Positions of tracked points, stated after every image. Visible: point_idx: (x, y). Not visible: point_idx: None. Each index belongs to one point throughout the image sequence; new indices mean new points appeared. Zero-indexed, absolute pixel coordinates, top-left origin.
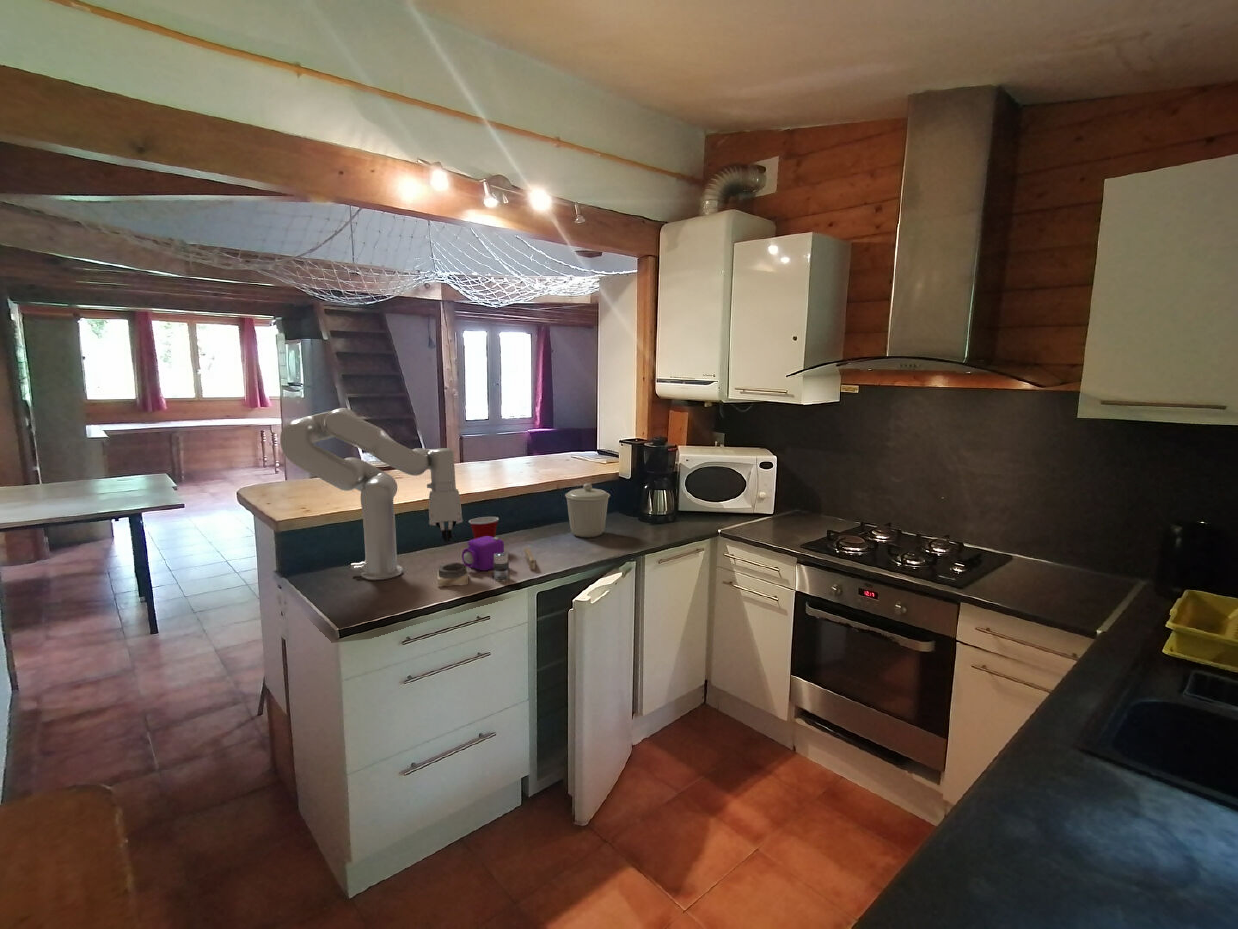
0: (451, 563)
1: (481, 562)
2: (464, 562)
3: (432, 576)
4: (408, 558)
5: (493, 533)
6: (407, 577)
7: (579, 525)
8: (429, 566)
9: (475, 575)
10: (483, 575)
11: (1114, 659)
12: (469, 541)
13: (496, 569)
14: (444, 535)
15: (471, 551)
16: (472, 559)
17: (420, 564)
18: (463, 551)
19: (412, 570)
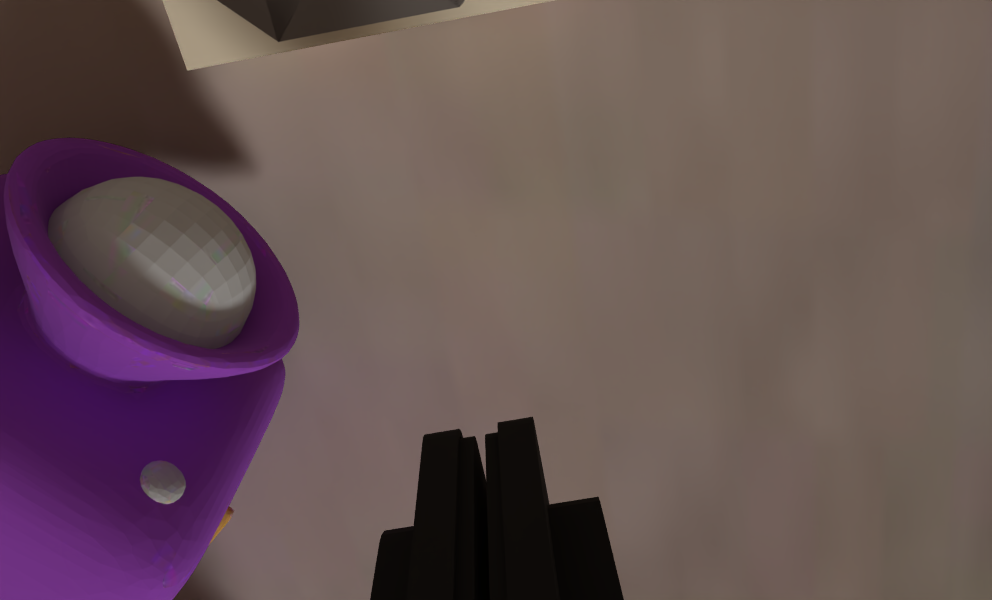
0: (375, 11)
1: (2, 206)
2: (273, 274)
3: (657, 44)
4: (922, 596)
5: None
6: (970, 28)
7: None
8: (716, 385)
9: (113, 43)
10: (8, 35)
11: None
12: (126, 568)
13: None
14: (545, 526)
15: (19, 244)
16: (84, 189)
17: (811, 445)
18: (232, 356)
19: (898, 276)
